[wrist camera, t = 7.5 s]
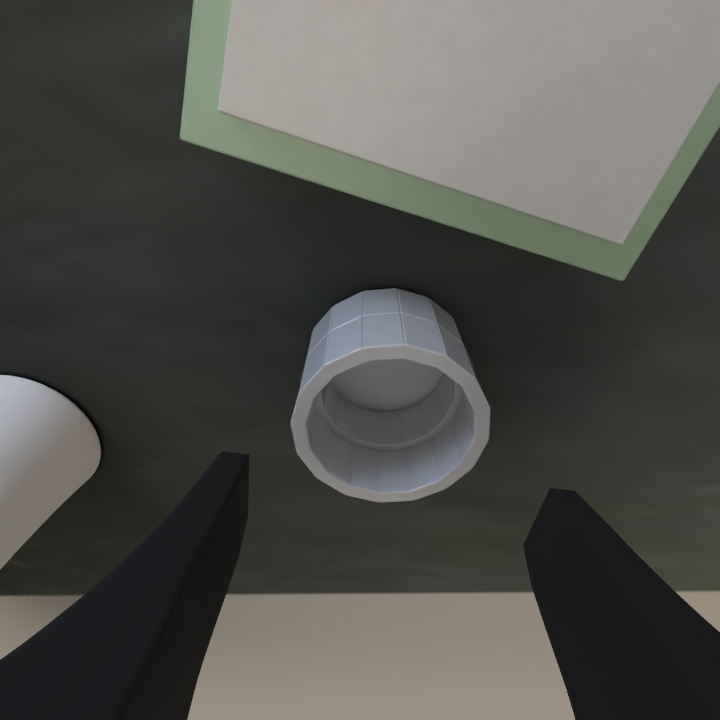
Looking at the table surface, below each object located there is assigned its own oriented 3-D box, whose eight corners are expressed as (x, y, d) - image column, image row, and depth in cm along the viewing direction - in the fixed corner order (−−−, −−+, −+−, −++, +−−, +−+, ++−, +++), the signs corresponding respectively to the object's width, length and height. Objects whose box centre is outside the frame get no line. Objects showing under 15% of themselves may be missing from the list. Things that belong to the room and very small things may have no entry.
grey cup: (487, 309, 16) (525, 377, 12) (428, 431, 19) (445, 518, 15) (331, 262, 16) (319, 320, 12) (293, 396, 18) (273, 479, 14)
